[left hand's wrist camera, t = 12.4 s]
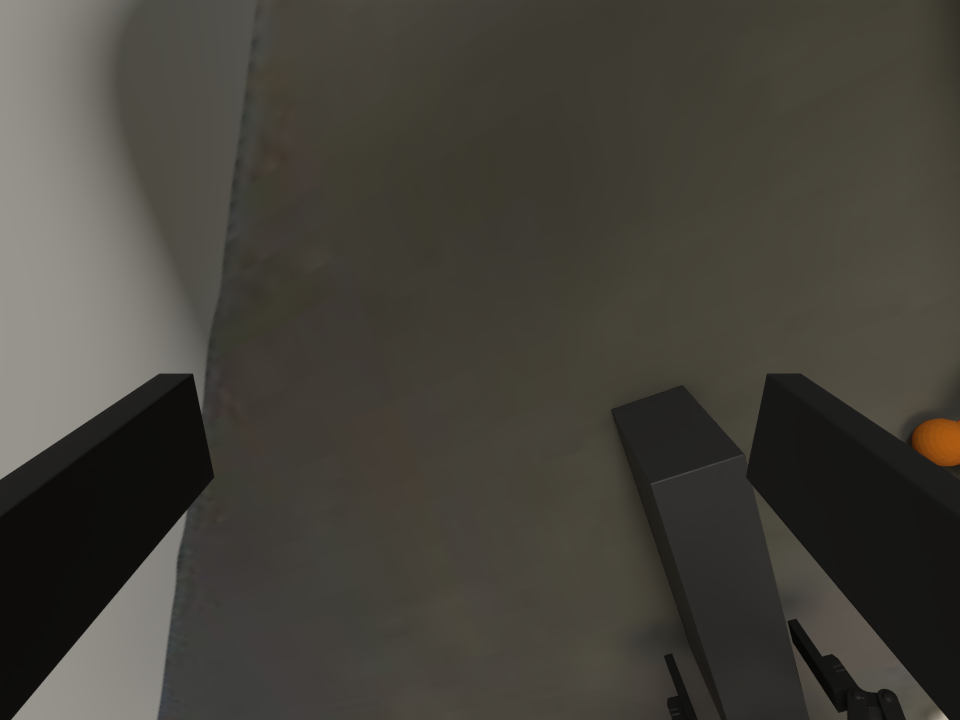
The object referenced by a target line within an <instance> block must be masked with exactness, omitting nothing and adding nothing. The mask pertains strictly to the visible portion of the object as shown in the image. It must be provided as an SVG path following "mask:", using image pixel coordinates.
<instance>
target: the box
mask: <svg viewBox="0 0 960 720" xmlns="http://www.w3.org/2000/svg"><path fill="white" fill-rule="evenodd" d="M612 414H613V417H614V420H615V423H616V426H617V429H618V432H619V435H620V438H621V441H622V444H623V447H624V450H625V453H626V456H627V459H628V462H629V465H630V468H631V471H632V474H633V477H634V480H635V483H636V486H637V489H638V492H639V494H640V497H641V500H642V503H643V506H644V509H645V512H646V515H647V518H648V521H649V524H650V527H651V530H652V533H653V536H654V539H655V542H656V545H657V548H658V551H659V554H660V557H661V560H662V563H663V566H664V569H665V572H666V575H667V578H668V581H669V584H670V587H671V590H672V593H673V596H674V599H675V602H676V605H677V608H678V611H679V614H680V617H681V620H682V623H683V626H684V629H685V632H686V635H687V638H688V641H689V644H690V647H691V650H692V653H693V655H694V657H695V660H696V662H697V664H698V666H699V669H700V671H701V673H702V676H703V678H704V680H705V683H706V685H707V687H708V690H709V692H710V694H711V697H712V699H713V701H714V704H715V706H716V708H717V711H718V713H719V715H720V718H721V720H809V716H808V712H807V708H806V704H805V700H804V696H803V692H802V688H801V683H800V679H799V675H798V671H797V667H796V663H795V659H794V655H793V651H792V647H791V643H790V638H789V634H788V630H787V626H786V622H785V618H784V614H783V610H782V606H781V602H780V598H779V593H778V589H777V585H776V581H775V577H774V573H773V569H772V565H771V561H770V557H769V552H768V548H767V544H766V540H765V536H764V532H763V528H762V524H761V520H760V516H759V512H758V507H757V503H756V499H755V495H754V491H753V487H752V484H751V483H750V482H749V480H748V479H747V478H746V474H747V469H748V467H747V462H746V458H745V454H744V453H743V452H742V451H741V450H740V449H739V448H738V447H737V446H736V444H735V443H734V442H733V441H732V440H731V439H730V438H729V437H728V436H727V434H726V433H725V432H724V431H723V430H722V429H721V428H720V427H719V425H718V424H717V423H716V422H715V421H714V420H713V419H712V418H711V417H710V415H709V414H708V413H707V412H706V411H705V410H704V409H703V408H702V407H701V405H700V404H699V403H698V402H697V401H696V400H695V399H694V398H693V396H692V395H691V394H690V393H689V392H688V391H687V390H686V389H685V388H684V386H680V387H677V388H674V389H671V390H668V391H665V392H662V393H659V394H656V395H653V396H651V397H648V398H645V399H642V400H639V401H636V402H633V403H630V404H627V405H624V406H621V407H618V408H615V409H612Z"/></svg>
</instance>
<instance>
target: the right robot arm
mask: <svg viewBox="0 0 960 720" xmlns="http://www.w3.org/2000/svg"><path fill="white" fill-rule="evenodd" d="M788 625H789V629H790V633H791V637H792V641H793V643H794V645H795V646H796V648H797V649H798V651H799V653H800V654H801V656H802V657H803V659H804V660H805V662H806V663H807V665H808V666H809V668H810V670H811V671H812V673H813V674H814V676H815V677H816V679H817V680H818V682H819V683H820V685H821V686H822V688H823V690H824V691H825V693H826V694H827V696H828V697H829V699H830V700H831V702H832V703H833V705H834V707H835V708H836V710H837V711H838V713H840V712H844V711H847V715H848V720H906V719H905V716H904V714H903V711H902V708H901V706H900V703H899V701H898V698H897V696H896V694H895V693H893V692H892V691H890V690H888V689H881V690H879V691H878V693H871V692H866V691H864V690H862V689H861V688H859V687H858V686H857V684H856V683H855V681H854V680H853V679H852V677H851V676H850V674H849V673H848V672H847V670H846V669H845V667H844V666H843V665H842V663H841V662H840V661H839V659H838V658H837V657H835V656H834V655H832V654H831V655H827V656H823V657H822V656H821V654H820V653H819V651H818V650H817V648H816V647H815V645H814V644H813V643H812V641H811V640H810V638H809V637H808V635H807V634H806V632H805V631H804V630H803V628H802V627H801V625H800V624H799V622H798V621H797V619H794V620H790V621H788ZM664 658H665V660H666V663H667V666H668V669H669V671H670V674H671V677H672V679H673V682H674V685H675V687H676V690H677V693H678V695H679V696H675V697H671V698H668V701H667V705H668V708H669V711H670V714H671V717H672V720H697V717H696V714H695V712H694V709H693V707H692V704H691V702H690V699H689V696H688V694H687V691H686V689H685V686H684V684H683V681H682V678H681V676H680V673H679V671H678V668H677V666H676V663H675V660H674V658H673V655H672V654H668V655H665V656H664Z"/></svg>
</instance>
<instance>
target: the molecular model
mask: <svg viewBox="0 0 960 720" xmlns="http://www.w3.org/2000/svg"><path fill="white" fill-rule="evenodd" d="M911 439H912V446H913V448H914V450H916V451H917V452H919V453H920V454H922V455H923V456H925V457H926V458H928V459H929V460H931V461H932V462H934V463H935V464H937V465H938V466H955V465H958V464H959V465H960V420H958V421H957V422H955V421H952V420H948V419H942V418H941V419H933V420H928V421H925V422H923V423H922V424H921V425H919V426H918V427H917V428H916V429H915V430H914V433H913V435H912V438H911Z"/></svg>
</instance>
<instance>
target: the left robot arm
mask: <svg viewBox="0 0 960 720" xmlns="http://www.w3.org/2000/svg"><path fill="white" fill-rule="evenodd" d="M213 478H214V474H213V469H212V464H211V459H210V454H209V449H208V444H207V440H206V435H205V430H204V425H203V420H202V415H201V411H200V406H199V401H198V396H197V391H196V386H195V381H194V377H193V374H158V375H157V376H155V377H154V378H152V379H151V380H149V381H148V382H146V383H145V384H143V385H142V386H140V387H139V388H137V389H136V390H134V391H133V392H131V393H130V394H128V395H127V396H125V397H124V398H122V399H121V400H119V401H118V402H116V403H115V404H113V405H112V406H110V407H109V408H107V409H106V410H104V411H103V412H101V413H100V414H98V415H97V416H95V417H94V418H92V419H91V420H89V421H88V422H86V423H85V424H83V425H82V426H80V427H79V428H77V429H76V430H74V431H73V432H71V433H70V434H68V435H67V436H65V437H64V438H62V439H61V440H59V441H58V442H56V443H55V444H53V445H52V446H50V447H49V448H47V449H46V450H44V451H43V452H41V453H40V454H38V455H37V456H35V457H34V458H32V459H31V460H29V461H28V462H26V463H25V464H23V465H22V466H20V467H19V468H17V469H16V470H14V471H13V472H11V473H10V474H8V475H7V476H5V477H4V478H2V479H1V480H0V720H11V719H12V718H13V717H14V716H15V714H16V713H17V712H18V711H19V710H20V708H21V707H22V706H23V705H24V704H25V702H26V701H27V700H28V699H29V698H30V696H31V695H32V694H33V693H34V692H35V691H36V689H37V688H38V687H39V686H40V685H41V683H42V682H43V681H44V680H45V679H46V677H47V676H48V675H49V674H50V673H51V671H52V670H53V669H54V668H55V667H56V665H57V664H58V663H59V662H60V661H61V659H62V658H63V657H64V656H65V655H66V653H67V652H68V651H69V650H70V649H71V648H72V646H73V645H74V644H75V643H76V642H77V640H78V639H79V638H80V637H81V636H82V634H83V633H84V632H85V631H86V630H87V628H88V627H89V626H90V625H91V624H92V622H93V621H94V620H95V619H96V618H97V616H98V615H99V614H100V613H101V612H102V610H103V609H104V608H105V607H106V606H107V605H108V603H109V602H110V601H111V600H112V599H113V597H114V596H115V595H116V594H117V593H118V591H119V590H120V589H121V588H122V587H123V585H124V584H125V583H126V582H127V581H128V579H129V578H130V577H131V576H132V575H133V574H134V572H135V571H136V570H137V569H138V568H139V566H140V565H141V564H142V563H143V561H144V560H145V559H146V558H147V557H148V556H149V554H150V553H151V552H152V551H153V550H154V548H155V547H156V546H157V545H158V544H159V542H160V541H161V540H162V539H163V538H164V536H165V535H166V534H167V533H168V532H169V530H170V529H171V528H172V527H173V526H174V525H175V523H176V522H177V521H178V520H179V518H180V517H181V516H182V515H183V514H184V513H185V511H186V510H187V509H188V508H189V507H190V505H191V504H192V503H193V502H194V501H195V499H196V498H197V497H198V496H199V495H200V494H201V492H202V491H203V490H204V489H205V488H206V486H207V485H208V484H209V483H210V482H211V480H212V479H213ZM746 478H747V479H748V480H749V482H750V483H751V484H752V485H753V486H754V488H755V489H756V490H757V491H758V492H759V494H760V495H761V496H762V497H763V498H764V499H765V501H766V502H767V503H768V504H769V505H770V507H771V508H772V509H773V510H774V511H775V513H776V514H777V515H778V516H779V517H780V519H781V520H782V521H783V522H784V523H785V525H786V526H787V527H788V528H789V529H790V531H791V532H792V533H793V534H794V535H795V536H796V538H797V539H798V540H799V541H800V542H801V544H802V545H803V546H804V547H805V548H806V550H807V551H808V552H809V553H810V554H811V556H812V557H813V558H814V559H815V560H816V562H817V563H818V564H819V565H820V566H821V568H822V569H823V570H824V571H825V572H826V574H827V575H828V576H829V577H830V578H831V579H832V581H833V582H834V583H835V584H836V585H837V587H838V588H839V589H840V590H841V591H842V593H843V594H844V595H845V596H846V597H847V599H848V600H849V601H850V602H851V603H852V605H853V606H854V607H855V608H856V609H857V611H858V612H859V613H860V614H861V615H862V616H863V618H864V619H865V620H866V621H867V622H868V624H869V625H870V626H871V627H872V628H873V630H874V631H875V632H876V633H877V634H878V636H879V637H880V638H881V639H882V640H883V642H884V643H885V644H886V645H887V646H888V648H889V649H890V650H891V651H892V652H893V654H894V655H895V656H896V657H897V658H898V659H899V661H900V662H901V663H902V664H903V665H904V667H905V668H906V669H907V670H908V671H909V673H910V674H911V675H912V676H913V677H914V679H915V680H916V681H917V682H918V683H919V685H920V686H921V687H922V688H923V689H924V691H925V692H926V693H927V694H928V695H929V697H930V698H931V699H932V700H933V701H934V702H935V704H936V705H937V706H938V707H939V708H940V710H941V711H942V712H943V713H944V714H945V716H946V717H947V718H948V719H949V720H960V480H959V479H958V478H956V477H955V476H953V475H952V474H950V473H949V472H947V471H946V470H944V469H943V468H941V467H940V466H938V465H937V464H935V463H934V462H932V461H931V460H929V459H928V458H926V457H925V456H923V455H922V454H920V453H919V452H917V451H916V450H914V449H913V448H911V447H910V446H908V445H907V444H905V443H904V442H902V441H901V440H899V439H898V438H896V437H895V436H893V435H892V434H890V433H889V432H887V431H886V430H884V429H883V428H881V427H880V426H878V425H877V424H875V423H874V422H872V421H871V420H869V419H868V418H866V417H865V416H863V415H862V414H860V413H859V412H857V411H856V410H854V409H853V408H851V407H850V406H848V405H847V404H845V403H844V402H842V401H841V400H839V399H838V398H836V397H835V396H833V395H832V394H830V393H829V392H827V391H826V390H824V389H823V388H821V387H820V386H818V385H817V384H815V383H814V382H812V381H811V380H809V379H808V378H806V377H805V376H803V375H802V374H767V377H766V381H765V386H764V391H763V396H762V401H761V406H760V410H759V415H758V420H757V425H756V430H755V435H754V440H753V444H752V449H751V454H750V459H749V464H748V469H747V474H746Z"/></svg>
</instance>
